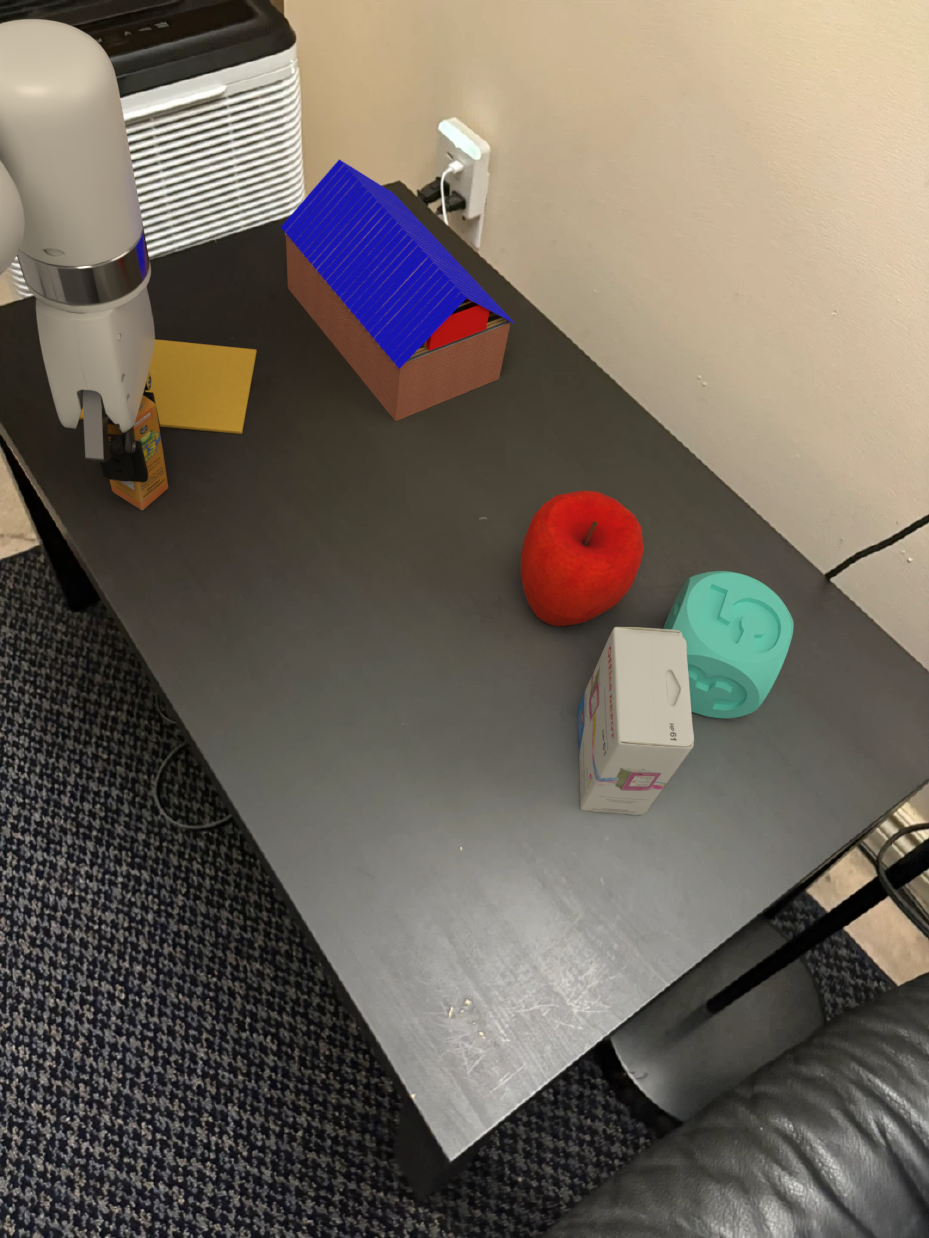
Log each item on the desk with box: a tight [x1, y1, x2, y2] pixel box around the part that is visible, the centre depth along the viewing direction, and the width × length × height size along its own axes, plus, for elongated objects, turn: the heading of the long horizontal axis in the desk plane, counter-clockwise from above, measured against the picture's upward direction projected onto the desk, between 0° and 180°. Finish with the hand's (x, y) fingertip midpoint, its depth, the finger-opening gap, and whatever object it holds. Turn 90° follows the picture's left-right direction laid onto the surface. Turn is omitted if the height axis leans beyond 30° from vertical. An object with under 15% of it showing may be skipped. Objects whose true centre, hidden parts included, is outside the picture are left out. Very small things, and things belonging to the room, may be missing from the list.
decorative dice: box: [662, 570, 795, 719], centre depth 72 cm, size 8×8×8 cm
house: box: [280, 159, 515, 422], centre depth 86 cm, size 12×20×12 cm, turn 34°
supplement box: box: [107, 395, 169, 511], centre depth 74 cm, size 3×3×10 cm
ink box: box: [577, 626, 695, 816], centre depth 66 cm, size 9×5×12 cm, turn 178°
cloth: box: [79, 338, 258, 435], centre depth 84 cm, size 14×10×1 cm
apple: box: [520, 490, 644, 627], centre depth 73 cm, size 9×9×11 cm
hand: (132, 451), depth 74 cm, fingers closed on supplement box, 4 cm apart
